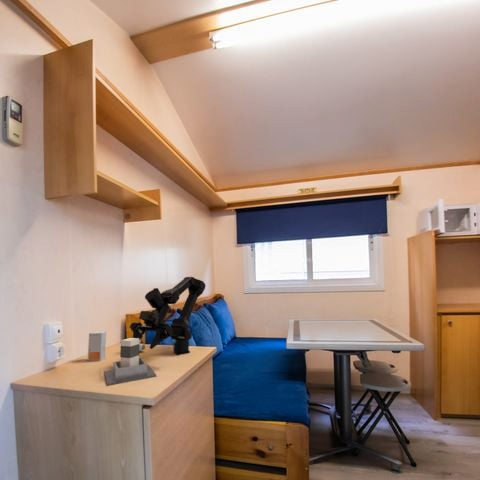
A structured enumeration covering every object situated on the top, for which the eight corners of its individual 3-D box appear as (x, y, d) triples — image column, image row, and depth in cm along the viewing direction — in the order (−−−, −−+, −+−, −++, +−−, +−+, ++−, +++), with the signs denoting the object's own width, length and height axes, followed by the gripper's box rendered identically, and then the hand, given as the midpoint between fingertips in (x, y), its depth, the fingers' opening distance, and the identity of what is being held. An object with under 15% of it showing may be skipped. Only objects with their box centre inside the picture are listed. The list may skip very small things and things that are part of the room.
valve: (139, 353, 135) (140, 328, 137) (127, 353, 137) (127, 328, 138) (146, 350, 142) (147, 325, 144) (134, 350, 143) (135, 325, 145)
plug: (129, 370, 108) (130, 337, 110) (139, 371, 106) (139, 338, 108) (119, 374, 104) (120, 340, 106) (129, 375, 102) (130, 340, 104)
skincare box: (87, 361, 125) (88, 333, 127) (92, 358, 130) (93, 331, 131) (100, 361, 125) (101, 332, 127) (105, 358, 129) (106, 331, 131)
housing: (147, 365, 116) (147, 355, 116) (156, 376, 102) (156, 364, 102) (104, 372, 108) (104, 361, 109) (107, 385, 94) (107, 372, 95)
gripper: (133, 303, 122) (112, 334, 111) (168, 303, 115) (150, 336, 104) (145, 319, 128) (126, 350, 117) (180, 320, 121) (164, 353, 110)
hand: (141, 347), depth 112 cm, fingers open, 9 cm apart
